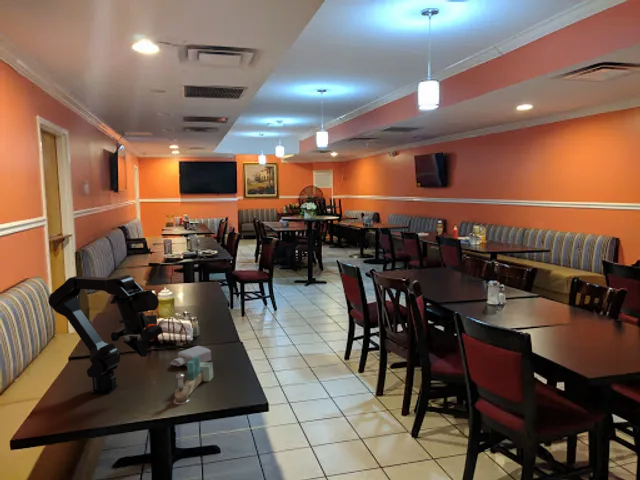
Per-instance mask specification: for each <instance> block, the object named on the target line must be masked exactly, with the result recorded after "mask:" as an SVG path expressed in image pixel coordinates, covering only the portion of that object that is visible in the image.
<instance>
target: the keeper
mask: <svg viewBox="0 0 640 480" xmlns="http://www.w3.org/2000/svg"><path fill="white" fill-rule="evenodd" d="M213 367H214V365H213V362H209V361H207V362H200V371H202V372H203V380H202V382H210V381H211V380H212V379H213V378H214V368H213Z"/></svg>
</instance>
